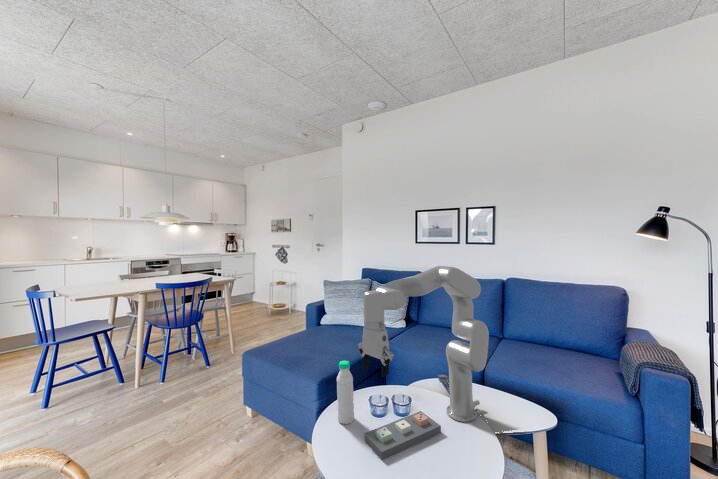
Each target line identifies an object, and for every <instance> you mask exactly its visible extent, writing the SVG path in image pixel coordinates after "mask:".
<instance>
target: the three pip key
mask: <svg viewBox="0 0 718 479" xmlns="http://www.w3.org/2000/svg"><path fill="white" fill-rule="evenodd" d="M424 414H425V413H424ZM424 414H422V413H419V414H417V415H414V416H413V422H414V423H415V424H417V425H418V426H419V427H422V426H425V425H427V424H429V418H430V417H429V416H428V417H429V418H428V417H426V416H425V415H426V414H425V415H424Z"/></svg>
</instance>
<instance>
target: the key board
mask: <svg viewBox="0 0 718 479" xmlns="http://www.w3.org/2000/svg"><path fill="white" fill-rule="evenodd" d="M419 413H422V414H424V415H425V416H426V417H428V418H429V424H427V425H425V426H422V427H419V426H418V425H417V424H415V423H414V422H413V416H414V415H417V414H419ZM402 420H405V421H406V422H407V423H409V424H410V425H411V432H408V433H406V434H404V435H401V434H400V433H399V432H398V431H397V430H396V429H395V423H397V422H399V421H402ZM384 427H386V428H387V429H388V430H389V431H390V432H391V433H392V440H390V441H387V442H385V443H383V444H382V443H381V442H380V441H379V440H378V439H377V438H376V431H377V430H379V429H382V428H384ZM440 434H442V427H441V425H440V424H439V423H438V422H436V421H435V420H433V418H431V417H429V416H428V415H426V413H424V412H423V411H421V410H419V411H417V412H414V413H412V414H410V415H406V416H405V417H402V418H400V419H397V420H395V421H392V422H390V423H387V424H384V425H382V426H380V427H376V428H375V429H372V430H370V431H367V432H364V442H365V443H366V444H367V446H368V447H370V448H371V450H372V452H374V454H376V456H377V457H378V458H379V460H381V461H384V460H386V459H389V458H390V457H393V456H395V455H397V454H399V453H401V452H404V451H406V450H408V449H410V448H412V447H414V446H416V445H418V444H421V443H423V442H425V441H428V440H430V439H432V438H435V437H436V436H438V435H440Z"/></svg>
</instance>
